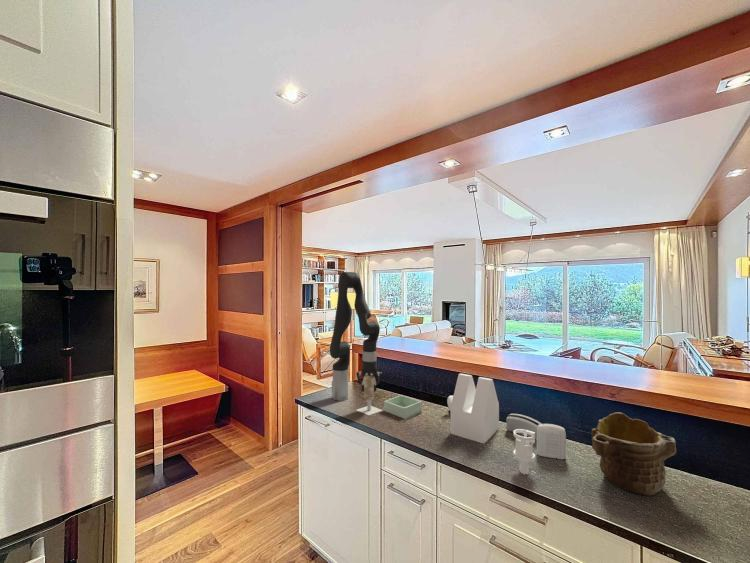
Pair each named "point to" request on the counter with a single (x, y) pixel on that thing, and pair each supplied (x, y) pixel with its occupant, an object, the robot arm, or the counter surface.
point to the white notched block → (474, 409)
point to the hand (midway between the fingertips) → (369, 391)
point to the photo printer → (551, 441)
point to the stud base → (373, 410)
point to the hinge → (522, 423)
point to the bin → (403, 407)
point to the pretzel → (450, 401)
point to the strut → (368, 387)
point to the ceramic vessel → (632, 453)
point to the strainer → (524, 449)
